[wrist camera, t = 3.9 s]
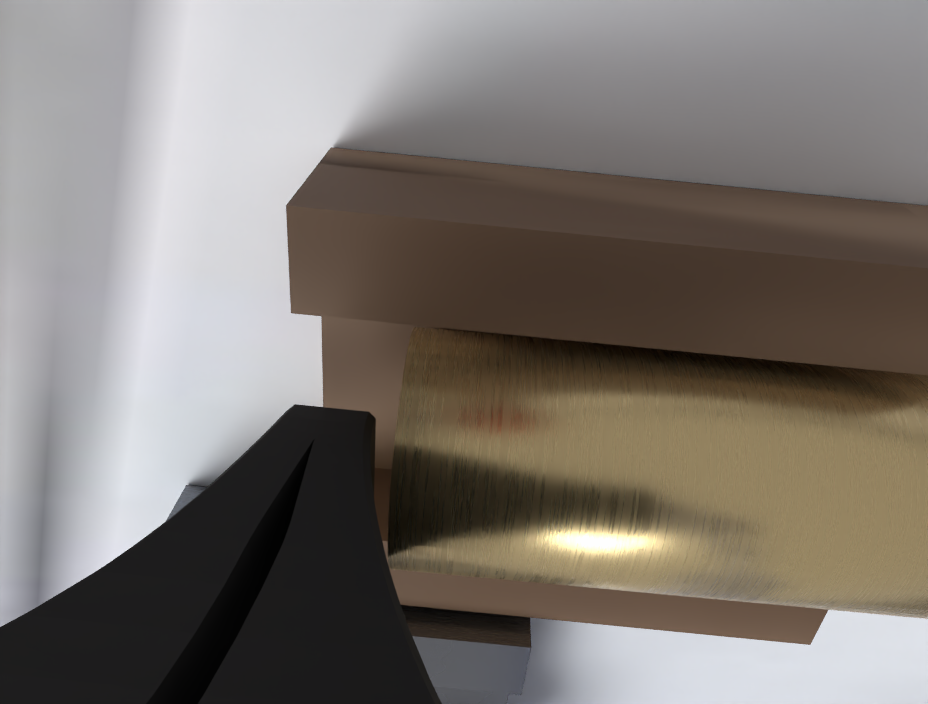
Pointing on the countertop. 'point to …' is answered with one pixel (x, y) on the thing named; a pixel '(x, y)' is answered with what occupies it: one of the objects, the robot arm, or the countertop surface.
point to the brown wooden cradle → (593, 309)
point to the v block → (460, 646)
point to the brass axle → (661, 472)
